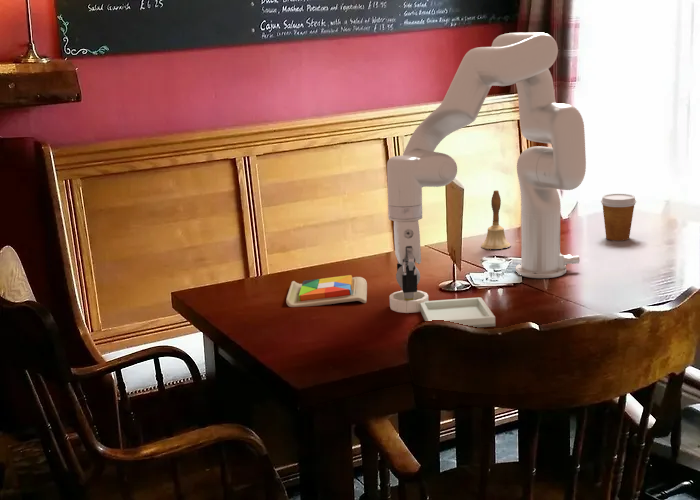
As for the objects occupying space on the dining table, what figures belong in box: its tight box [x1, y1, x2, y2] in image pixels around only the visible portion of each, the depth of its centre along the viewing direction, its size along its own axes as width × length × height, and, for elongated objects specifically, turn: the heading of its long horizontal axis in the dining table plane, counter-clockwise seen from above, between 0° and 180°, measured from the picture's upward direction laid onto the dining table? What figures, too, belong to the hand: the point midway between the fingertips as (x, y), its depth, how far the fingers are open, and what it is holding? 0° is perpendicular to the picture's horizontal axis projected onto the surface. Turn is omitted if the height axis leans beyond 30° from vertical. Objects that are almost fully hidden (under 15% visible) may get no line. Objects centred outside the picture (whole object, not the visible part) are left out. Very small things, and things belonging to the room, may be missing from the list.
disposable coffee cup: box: [600, 193, 637, 242], centre depth 251 cm, size 10×10×12 cm
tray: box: [419, 296, 496, 328], centre depth 193 cm, size 14×14×2 cm
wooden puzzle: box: [285, 274, 368, 308], centre depth 215 cm, size 18×19×4 cm
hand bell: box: [480, 190, 511, 251], centre depth 249 cm, size 8×8×16 cm
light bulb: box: [395, 265, 421, 301], centre depth 201 cm, size 6×5×10 cm
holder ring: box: [389, 289, 430, 314], centre depth 202 cm, size 9×9×3 cm
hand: (407, 285), depth 201 cm, fingers open, 9 cm apart
